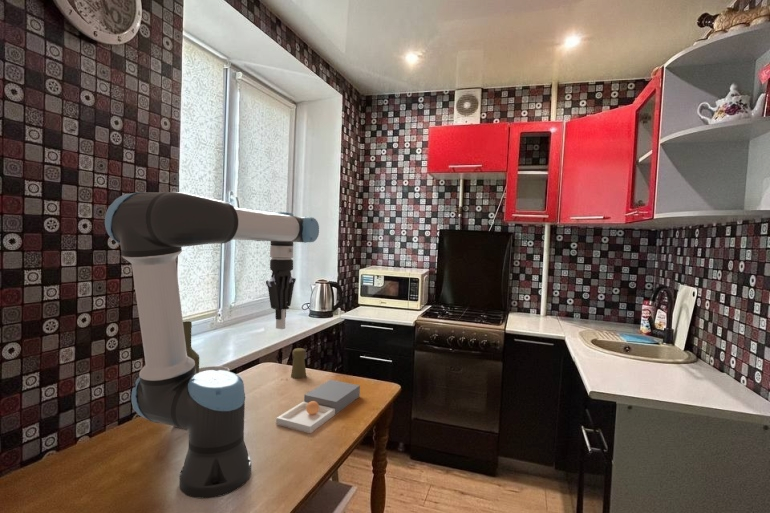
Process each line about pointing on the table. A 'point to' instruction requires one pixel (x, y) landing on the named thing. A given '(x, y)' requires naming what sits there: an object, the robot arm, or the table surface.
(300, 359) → the cork
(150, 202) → the robot arm
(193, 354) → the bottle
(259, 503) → the table surface
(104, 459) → the table surface
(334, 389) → the deck
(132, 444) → the table surface
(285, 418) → the tray
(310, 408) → the ball
